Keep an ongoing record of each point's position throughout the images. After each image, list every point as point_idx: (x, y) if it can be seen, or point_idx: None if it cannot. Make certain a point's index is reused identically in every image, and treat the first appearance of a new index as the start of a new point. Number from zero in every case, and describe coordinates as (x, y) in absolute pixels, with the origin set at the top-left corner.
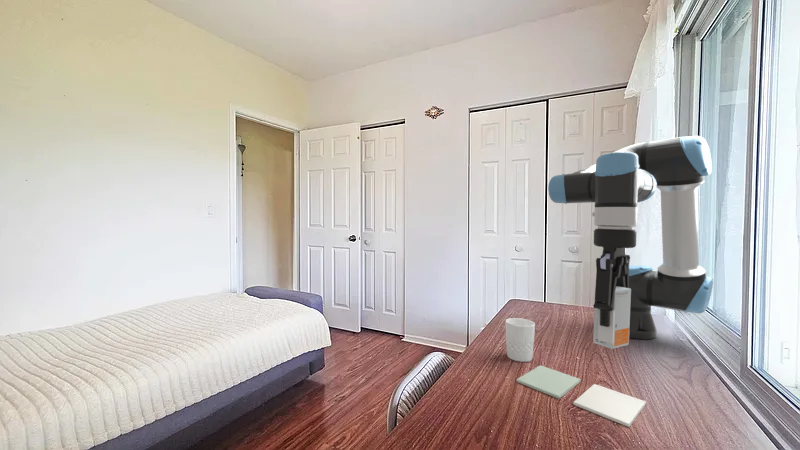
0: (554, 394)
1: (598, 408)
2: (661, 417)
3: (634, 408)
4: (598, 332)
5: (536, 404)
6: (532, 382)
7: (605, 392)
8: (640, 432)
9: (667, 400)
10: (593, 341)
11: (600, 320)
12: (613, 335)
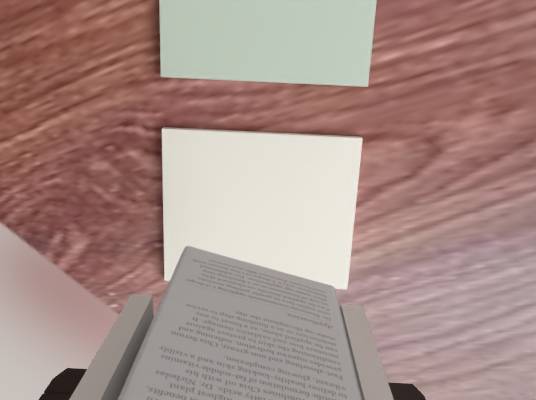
0: (160, 58)
1: (183, 199)
2: None
3: None
4: (119, 319)
5: (61, 32)
6: None
7: (318, 185)
8: None
9: (424, 324)
10: (184, 249)
11: (43, 395)
12: None
